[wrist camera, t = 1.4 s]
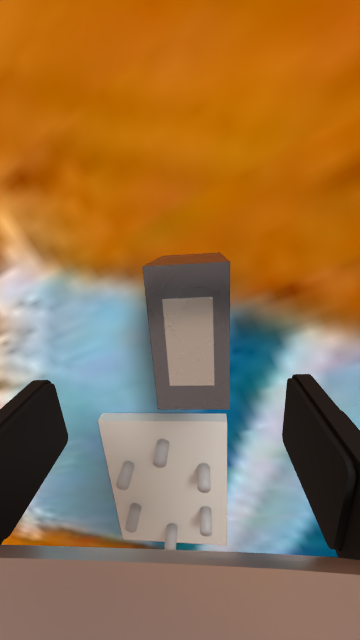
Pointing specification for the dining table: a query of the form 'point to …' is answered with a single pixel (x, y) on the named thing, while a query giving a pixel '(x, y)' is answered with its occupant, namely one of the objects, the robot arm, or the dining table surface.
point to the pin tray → (168, 475)
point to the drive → (190, 329)
